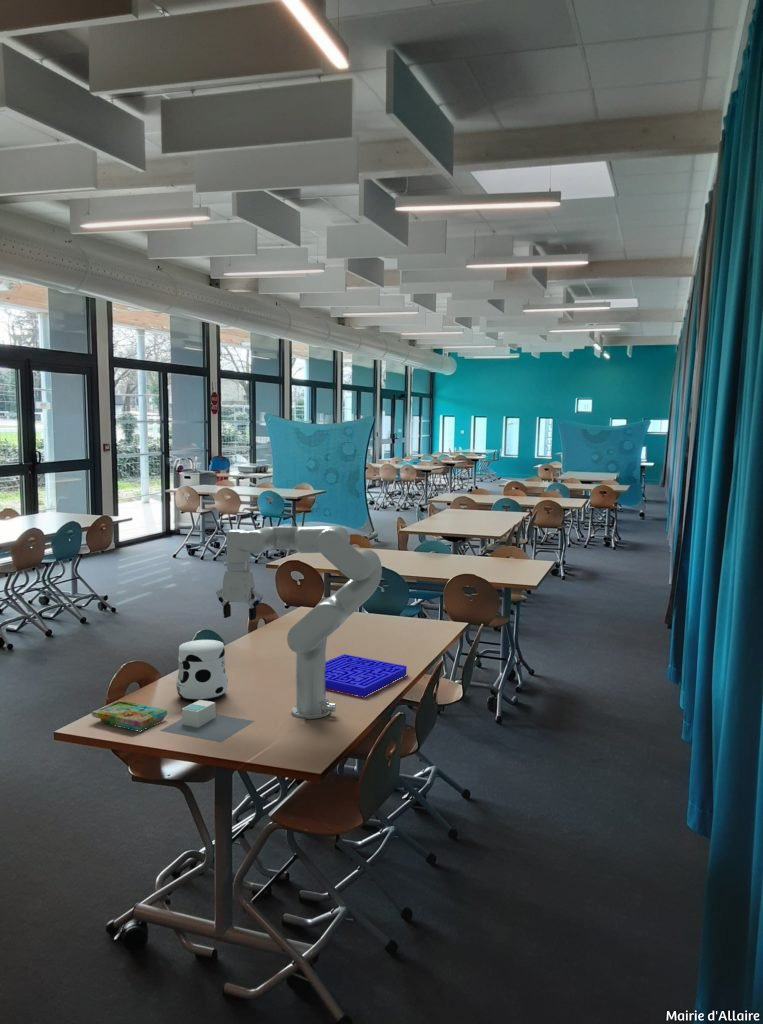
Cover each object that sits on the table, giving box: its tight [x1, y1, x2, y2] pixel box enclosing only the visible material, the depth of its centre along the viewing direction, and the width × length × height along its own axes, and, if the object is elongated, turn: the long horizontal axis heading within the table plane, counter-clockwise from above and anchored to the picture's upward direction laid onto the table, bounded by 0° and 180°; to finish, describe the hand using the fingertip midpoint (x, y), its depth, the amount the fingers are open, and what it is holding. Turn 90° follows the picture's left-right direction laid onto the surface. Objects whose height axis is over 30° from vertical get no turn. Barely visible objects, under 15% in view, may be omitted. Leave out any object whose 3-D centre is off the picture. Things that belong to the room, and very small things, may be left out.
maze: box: [325, 653, 407, 698], centre depth 279 cm, size 30×30×4 cm
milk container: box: [175, 639, 229, 702], centre depth 259 cm, size 17×17×18 cm
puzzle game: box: [91, 700, 168, 732], centre depth 235 cm, size 12×5×20 cm
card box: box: [181, 700, 217, 727], centre depth 235 cm, size 9×6×5 cm, turn 157°
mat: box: [160, 713, 255, 743], centre depth 231 cm, size 22×18×1 cm
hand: (239, 618), depth 247 cm, fingers open, 9 cm apart
